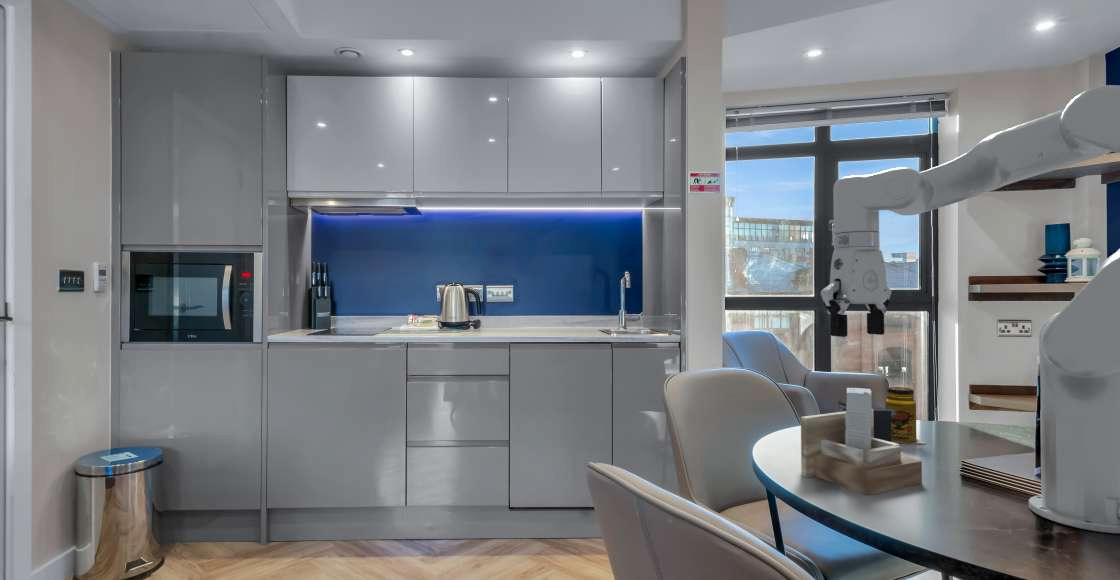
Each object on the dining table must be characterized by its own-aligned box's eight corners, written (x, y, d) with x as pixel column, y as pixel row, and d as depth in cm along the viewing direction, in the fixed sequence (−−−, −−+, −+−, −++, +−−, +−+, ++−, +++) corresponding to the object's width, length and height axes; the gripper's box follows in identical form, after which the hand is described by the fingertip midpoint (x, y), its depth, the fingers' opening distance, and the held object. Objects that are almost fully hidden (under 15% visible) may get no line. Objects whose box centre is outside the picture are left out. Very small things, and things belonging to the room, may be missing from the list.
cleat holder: (929, 481, 102) (928, 420, 102) (858, 497, 95) (858, 431, 95) (860, 460, 115) (860, 406, 115) (793, 472, 108) (793, 415, 108)
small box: (894, 461, 114) (894, 409, 114) (861, 461, 114) (861, 410, 115) (867, 447, 125) (866, 399, 125) (837, 447, 125) (836, 400, 125)
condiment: (892, 444, 128) (891, 390, 128) (874, 434, 136) (874, 384, 136) (926, 444, 127) (925, 391, 127) (906, 435, 135) (906, 384, 135)
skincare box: (845, 449, 109) (844, 386, 109) (871, 452, 107) (871, 388, 107) (844, 458, 103) (844, 391, 104) (872, 461, 101) (872, 393, 101)
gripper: (840, 240, 99) (841, 338, 99) (906, 242, 106) (908, 334, 106) (805, 243, 105) (807, 335, 105) (870, 246, 112) (871, 332, 112)
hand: (857, 335), depth 105 cm, fingers open, 9 cm apart
